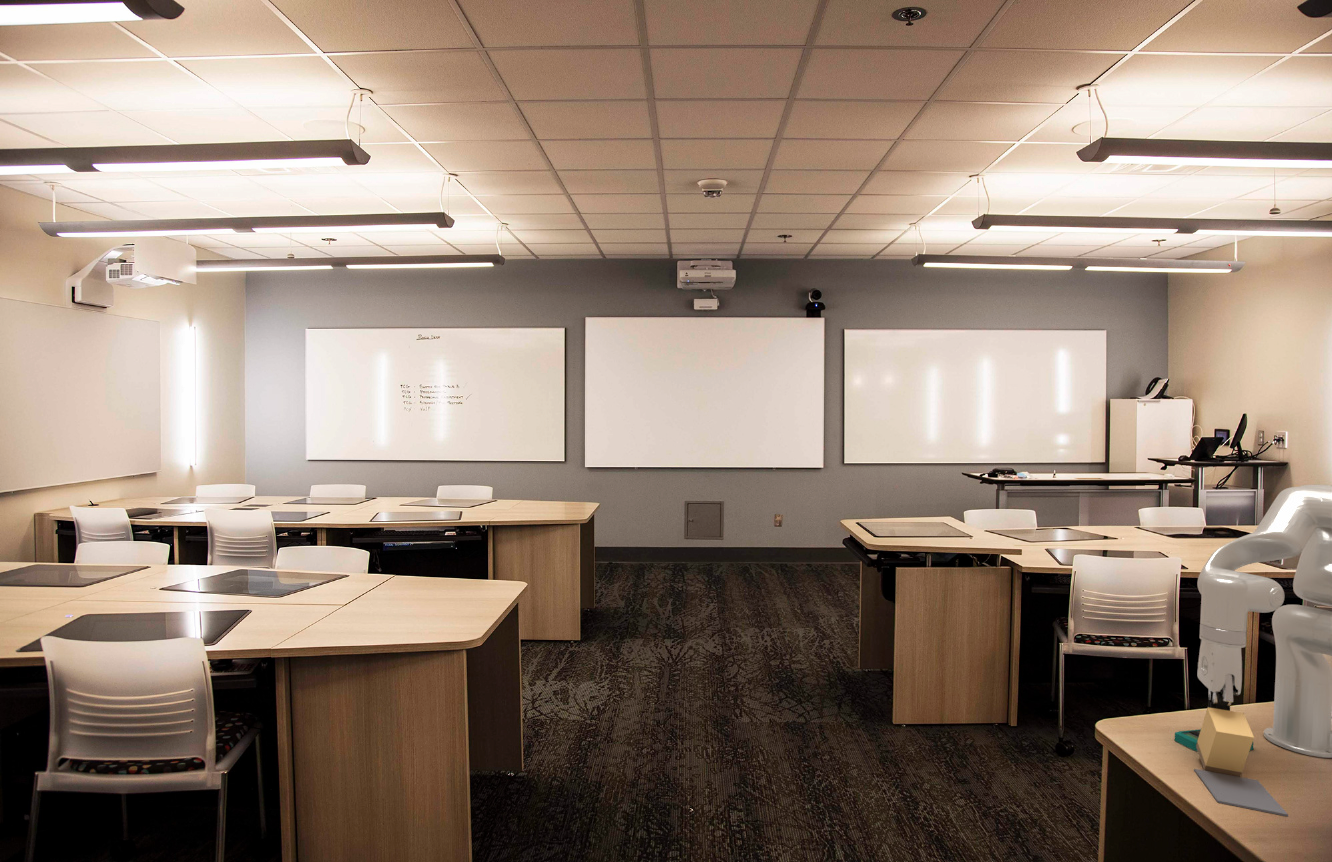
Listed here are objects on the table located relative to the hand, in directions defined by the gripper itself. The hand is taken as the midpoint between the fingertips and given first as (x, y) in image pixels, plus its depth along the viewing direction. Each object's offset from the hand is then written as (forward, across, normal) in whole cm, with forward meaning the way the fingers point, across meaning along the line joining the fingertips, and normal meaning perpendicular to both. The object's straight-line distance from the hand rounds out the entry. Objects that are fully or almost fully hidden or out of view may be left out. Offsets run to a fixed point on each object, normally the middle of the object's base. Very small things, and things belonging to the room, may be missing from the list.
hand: (1218, 721), depth 141 cm
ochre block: (+8, 0, 0) cm, 8 cm away
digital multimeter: (+10, -12, +3) cm, 17 cm away
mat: (+10, +10, 0) cm, 14 cm away
